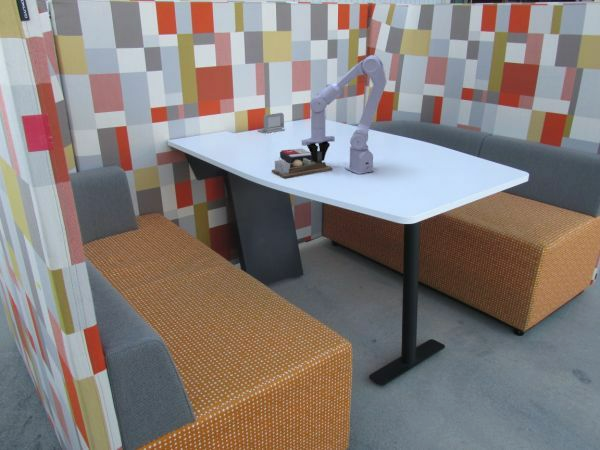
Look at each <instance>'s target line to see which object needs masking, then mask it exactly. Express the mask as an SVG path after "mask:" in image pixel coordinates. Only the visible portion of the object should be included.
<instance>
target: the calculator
mask: <svg viewBox="0 0 600 450" xmlns="http://www.w3.org/2000/svg"><path fill="white" fill-rule="evenodd" d="M279 157H280V159H281V160H282V161H285V162H287V163H289V164H290V163H293V162H294V161H295V160H300V161H303V159H304V158H306V159H308V160H312V156H311V153H310V151H309V150H306V149H304V148H293V149H283V150H280V152H279Z"/></svg>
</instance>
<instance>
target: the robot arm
mask: <svg viewBox="0 0 600 450" xmlns="http://www.w3.org/2000/svg"><path fill="white" fill-rule="evenodd" d="M365 74H366V75H367V76H368V77H369V78H370V80H371V83H372V87H371V89H370V90H371V91H370V93H369V95H368V98H367V101H366V103H365V106H364V110H363V111H362V115H361V117H360V121H359V123H358V125H357V128H356V130H355V131H354V132H353V133H352V136H351V137H350V141H349V142H350V146H349V166H348V167H347V166H346V167H344V169H345V170H347V171H350V172H351V173H355V174H358V175H361V174H366V173H371V172H372V173H373V172H375V169H373V168H374V154H373V153H372V152H371V151H370V149H369V145H367V143H368V140H369V130H370V128H371V126H372V125H371V124H372V122H373V120H374V118H375V114H376V112H377V109H378V106H379V104H380V102H381V99H382V95H383V93H384V90H385V88H386V85H387V82H388V81H387V78H386V72H385V68H384V64H383V61H382V60H381V59H380V57H379V56H377V55H375V54H371V55H368V56H367V57H366V58H365V59H363V60H361V61H360V62H358V63H357V64H355V65H354V66H353V67H352V68H350V69H349V70H348V71H347V72H346V73H345V74H344V75H343V76H342V77H341V78H340V79H338V81H337V82H330V83H327V84H326V85H325V87H324V89H323V90H322V91H320V92H317V93H316V95H317V96H315V97H313V98H312V99H311V100H310V103H309V108H310V114H311V116H310V132H311V133H310V134H311V135H310V136H311V137H309V138H307V139H302V140H301V146H302V147H304V146H306V147H307V148H308V151H309V152H310V153H311V156H312V160H313V161H314V162H317V151H322V162H325V158H326V154H327V151H328V149H329V148H330V146H331V145H330V143H331V142H335V136H333V135H329V136H327V135H326V107H327V106H329V105H330V104H332V103H333V102H334V101H335V100H337V98H339V96H341V95H342V89H343V88H344V87H345V86H346V85H348V84H350V82H352V81H353V80H354V79H355V78H356V77H358V76H364V75H365ZM317 144H318V145H317Z"/></svg>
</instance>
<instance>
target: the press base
mask: <svg viewBox="0 0 600 450" xmlns="http://www.w3.org/2000/svg"><path fill="white" fill-rule="evenodd" d="M311 162H313V160H311ZM302 163H303V161H302ZM331 171H333V167H332V166H328V165H327V163H326V162H325V161H322V163H316V164H311V165H305V166H299V167H293V163H290V171H289V174H286V175H283V174H280V173H278V172H276V171H275V168H274V169H271V174H274V175H275V176H278V177H281V178H282V179H284V180H285V179H286V180H287V179H292V178H296V177H304V176H307V175H313V174H318V173H324V172H331Z"/></svg>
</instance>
